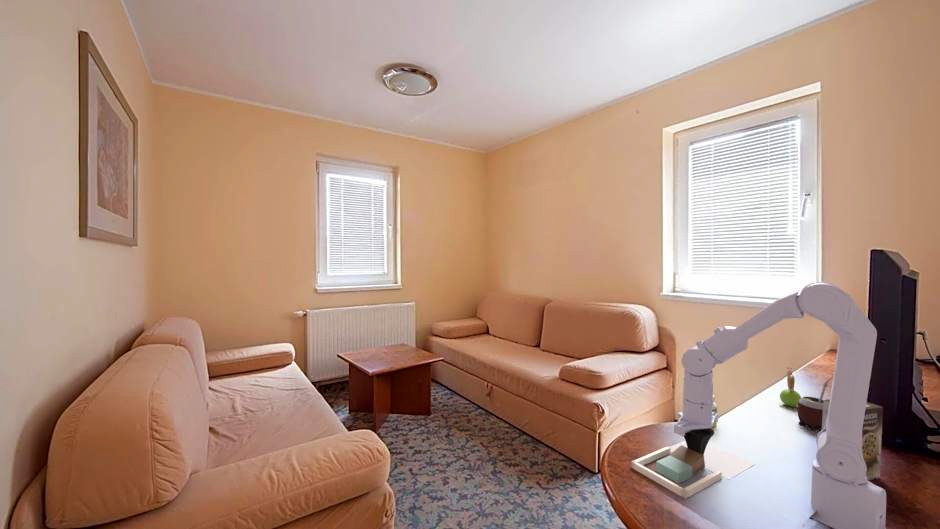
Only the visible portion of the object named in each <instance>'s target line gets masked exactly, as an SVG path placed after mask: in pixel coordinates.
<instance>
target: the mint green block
mask: <svg viewBox="0 0 940 529" xmlns="http://www.w3.org/2000/svg"><path fill="white" fill-rule="evenodd" d="M655 461H656V462H655V472H656V473H657V474H659V475H661V476H662V475H663V477H665V478H667V479H668V480H669V479H670V481H672V482H673V481H674V483H677V484H681V483H682V482H685V481H687V480H688V479H690V478H692V477H693V475H692V466H690V465H688V464H686V463H684V462H682V461H680V460H678V459H676V458H674V457H672V456H669V455H666V456H664V457H662V458H659V459H657V460H655Z"/></svg>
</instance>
